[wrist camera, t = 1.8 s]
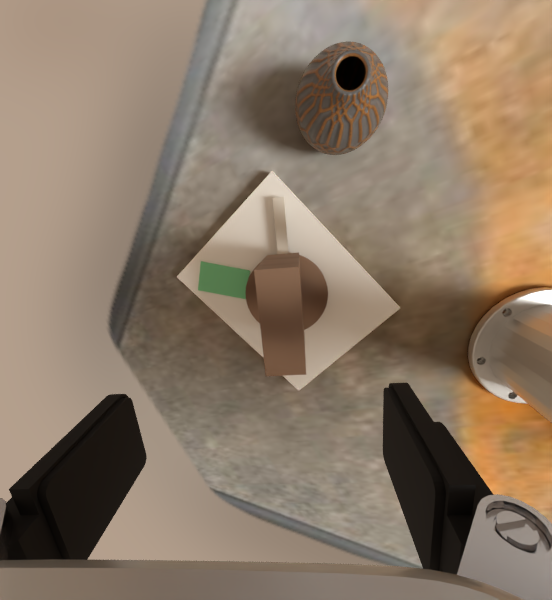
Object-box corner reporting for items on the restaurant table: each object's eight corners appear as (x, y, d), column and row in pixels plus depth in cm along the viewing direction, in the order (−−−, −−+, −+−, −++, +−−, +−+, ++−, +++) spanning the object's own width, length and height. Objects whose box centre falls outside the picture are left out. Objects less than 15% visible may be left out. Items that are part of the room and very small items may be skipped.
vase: (304, 170, 27) (307, 149, 19) (288, 88, 26) (282, 25, 17) (379, 149, 26) (416, 117, 18) (366, 62, 25) (401, -18, 16)
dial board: (395, 303, 30) (401, 308, 28) (298, 383, 34) (298, 391, 32) (273, 172, 27) (271, 170, 26) (182, 274, 31) (175, 277, 29)
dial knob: (328, 328, 29) (340, 373, 21) (251, 332, 30) (233, 377, 22) (323, 193, 26) (334, 181, 17) (235, 202, 27) (206, 195, 18)
